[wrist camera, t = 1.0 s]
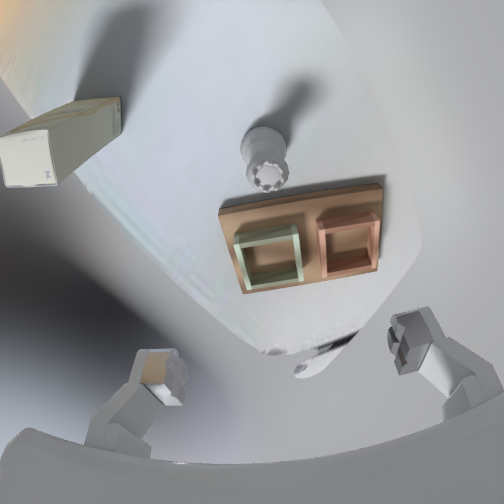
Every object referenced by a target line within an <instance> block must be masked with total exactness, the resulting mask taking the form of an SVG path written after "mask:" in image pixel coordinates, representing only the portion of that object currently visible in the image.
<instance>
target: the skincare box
mask: <svg viewBox="0 0 504 504" xmlns="http://www.w3.org/2000/svg"><path fill="white" fill-rule="evenodd" d="M120 135H121V104H120V97H119V96H117V97H103V98H93V99H86V100H79V101H73V102H70V103H68V104H65V105H63V106H60V107H58V108H56V109H53V110H51V111H49V112H47V113H45V114H42V115H40V116H38V117H36V118H34V119H32V120H30V121H28V122H26V123H24V124H22V125H21V126H19V127H17V128H15V129H13V130H12V131H10V132H8V133H6V134H4V135H3V136H1V137H0V164H1V169H2V173H3V177H4V182H5V185H6V187H39V186H57V185H59V184H60V183H61V182H62V181H63V180H64V179H65V178H66V177H68V176H69V175H70V174H71V173H72V172H73V171H74V170H76V169H77V168H78V167H79V166H81V165H82V164H83V163H84V162H85V161H87V160H88V159H89V158H90V157H91V156H93V155H94V154H95V153H97V152H98V151H99V150H101V149H102V148H103V147H104V146H106V145H107V144H108V143H110V142H111V141H113V140H114V139H115V138H117V137H118V136H120Z"/></svg>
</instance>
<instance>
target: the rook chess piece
mask: <svg viewBox="0 0 504 504" xmlns="http://www.w3.org/2000/svg"><path fill="white" fill-rule="evenodd" d="M240 150H241V154H242V158H243V160H244V161H245V163H246V164H247V165H248V166H247V172H246V175H247V179H248V181H249V183H250V184H251V185H252V186H253V187H254V188H256V189H258V190H259V191H262V192H265V193H269V192H270V191H277V190H279V189H280V187H282V186H283V185H284V184H285V182H286V181H287V179H288V175H289V170H288V165H287V163H286V162H285V161H284V159H285V156H286V151H287V149H286V143H285V139H284V138H283V136H282V135H281V134H280V132H278V131H276V130H275V129H273V128H270V127H264V126H262V127H257V128H253V129H252V130H251V131H249V132H248V133H246V135H245V136H244V138H243V139H242V141H241V148H240Z"/></svg>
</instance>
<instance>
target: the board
mask: <svg viewBox="0 0 504 504" xmlns="http://www.w3.org/2000/svg"><path fill="white" fill-rule="evenodd" d="M382 204H383V188H382V187H381V186H380V185H379V184H378V183H375V184H367V185H360V186H352V187H345V188H338V189H331V190H325V191H318V192H312V193H305V194H299V195H293V196H287V197H281V198H276V199H270V200H264V201H259V202H253V203H248V204H242V205H237V206H232V207H227V208H222V209H219V213H218V217H219V221H220V224H221V227H222V230H223V234H224V237H225V240H226V243H227V246H228V249H229V253H230V256H231V259H232V262H233V265H234V268H235V271H236V274H237V277H238V281H239V284H240V287H241V290H242V293H243V294H248V293H254V292H261V291H267V290H274V289H280V288H286V287H292V286H298V285H304V284H310V283H316V282H321V281H327V280H332V279H338V278H343V277H349V276H354V275H359V274H364V273H369V272H374V271H377V267H378V258H379V248H380V236H381V222H382Z"/></svg>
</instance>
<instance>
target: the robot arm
mask: <svg viewBox="0 0 504 504" xmlns="http://www.w3.org/2000/svg"><path fill="white" fill-rule="evenodd" d="M390 323H391V325H392V327H390V328H389V329H388V335H387V338H388V345H389V349H390V352H391V353H392V354H394V355H395V356H396V358H395V361H394V363H395V366H396V368H397V371H398V374H399V375H404V374H407V373H411V372H414V371H418V370H419V372H420V373H421V374H422V375H423V376H424V377H425V378H427V379H428V380H429V381H430V382H431V383H432V384H433V385H434V386H436V387H437V388H438V389H439V390H440V391H441V392H442V393H443V394H444V395H446V396H447V397H448V400H447V401H446V402H445V403H444V405H443V406H442V407H441V409H440V412H441V415H442V418H443V422H442V423H440V424H437V425H435V426H432V427H429V428H427V429H424V430H421V431H419V432H416V433H413V434H410V435H407V436H404V437H401V438H398V439H394V440H391V441H388V442H384V443H381V444H377V445H374V446H369V447H365V448H361V449H357V450H353V451H348V452H344V453H338V454H333V455H327V456H321V457H315V458H309V459H301V460H293V461H282V462H272V463H253V464H204V463H186V462H175V461H165V460H157V459H150V454H151V446H150V445H149V444H148V443H146V442H144V441H143V440H142V439H141V438H142V437H143V436H144V434H145V433H146V432H147V430H148V429H149V427H150V426H151V425H152V423H153V422H154V421H155V419H156V418H157V416H158V415H159V414H160V412H161V411H162V410H163V408H164V405H183V404H184V397H185V390H184V388H183V385H184V384H185V383H186V382H187V377H188V376H187V375H188V374H187V367H186V364H185V362H184V361H183V360H182V359H180V358H179V357H178V354H179V353H178V352H177V350H176V349H142V350H141V349H140V350H139V351H138V352H137V355H136V358H135V362H134V365H133V369H132V372H131V375H130V379H129V383H125V384H124V385H123V386H122V387H121V388H120V389H119V390H118V391H117V392H116V393H115V394H114V395H113V397H112V398H110V400H109V401H108V402H107V403H106V404H105V405H104V406H103V407H102V408H101V409H100V410H99V411H98V412H97V413H96V414H95V415H94V416H93V417H92V418H91V421H90V424H89V428H88V432H87V436H86V440H85V443H84V445H82V444H78V443H75V442H71V441H68V440H64V439H62V438H58V437H56V436H53V435H50V434H47V433H44V432H41V431H38V430H36V429H34V428H25V429H24V430H22V431H21V432H20V433H19V434H18V435H16V437H14V438H13V439H12V440H11V441H10V442H9V443H8V444H7V446H6V448H5V450H4V452H3V454H2V457H1V460H0V504H504V389H503V387H502V385H501V382H500V380H499V378H498V376H497V374H496V372H495V370H494V367H493V365H492V364H491V363H489V362H487V361H486V360H484V359H483V358H481V357H480V356H478V355H477V354H475V353H474V352H472V351H470V350H469V349H467V348H466V347H464V346H463V345H461V344H459V343H458V342H457V341H455V340H453V339H452V338H450V337H448V338H446V336H445V335H444V333H443V331H442V329H441V327H440V325H439V323H438V321H437V320H436V318H435V316H434V314H433V312H432V311H431V309H430V308H429V307H428V306H426V307H422V308H419V309H414V310H411V311H407V312H403V313H399V314H395V315H393V316H392V317H391V320H390Z"/></svg>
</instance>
